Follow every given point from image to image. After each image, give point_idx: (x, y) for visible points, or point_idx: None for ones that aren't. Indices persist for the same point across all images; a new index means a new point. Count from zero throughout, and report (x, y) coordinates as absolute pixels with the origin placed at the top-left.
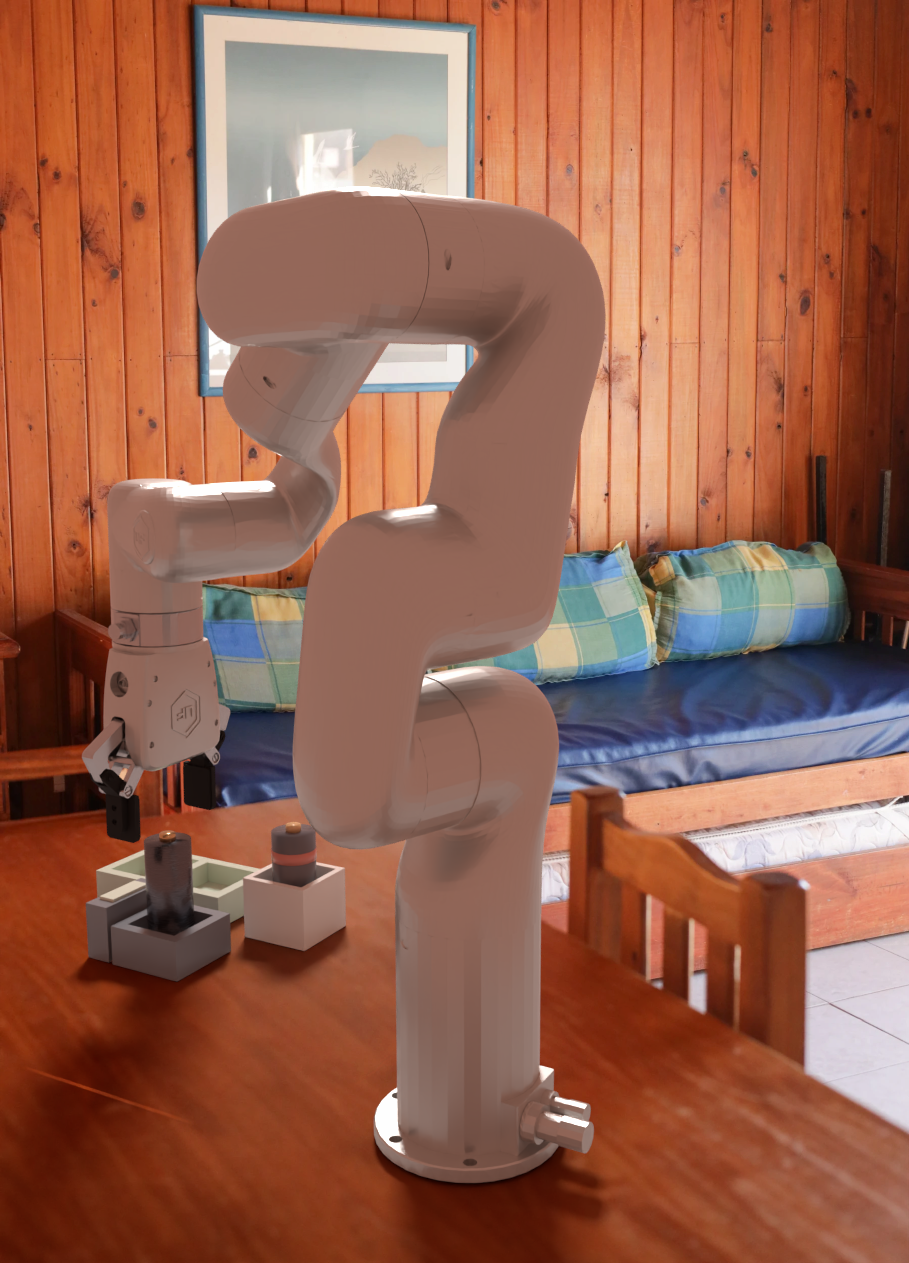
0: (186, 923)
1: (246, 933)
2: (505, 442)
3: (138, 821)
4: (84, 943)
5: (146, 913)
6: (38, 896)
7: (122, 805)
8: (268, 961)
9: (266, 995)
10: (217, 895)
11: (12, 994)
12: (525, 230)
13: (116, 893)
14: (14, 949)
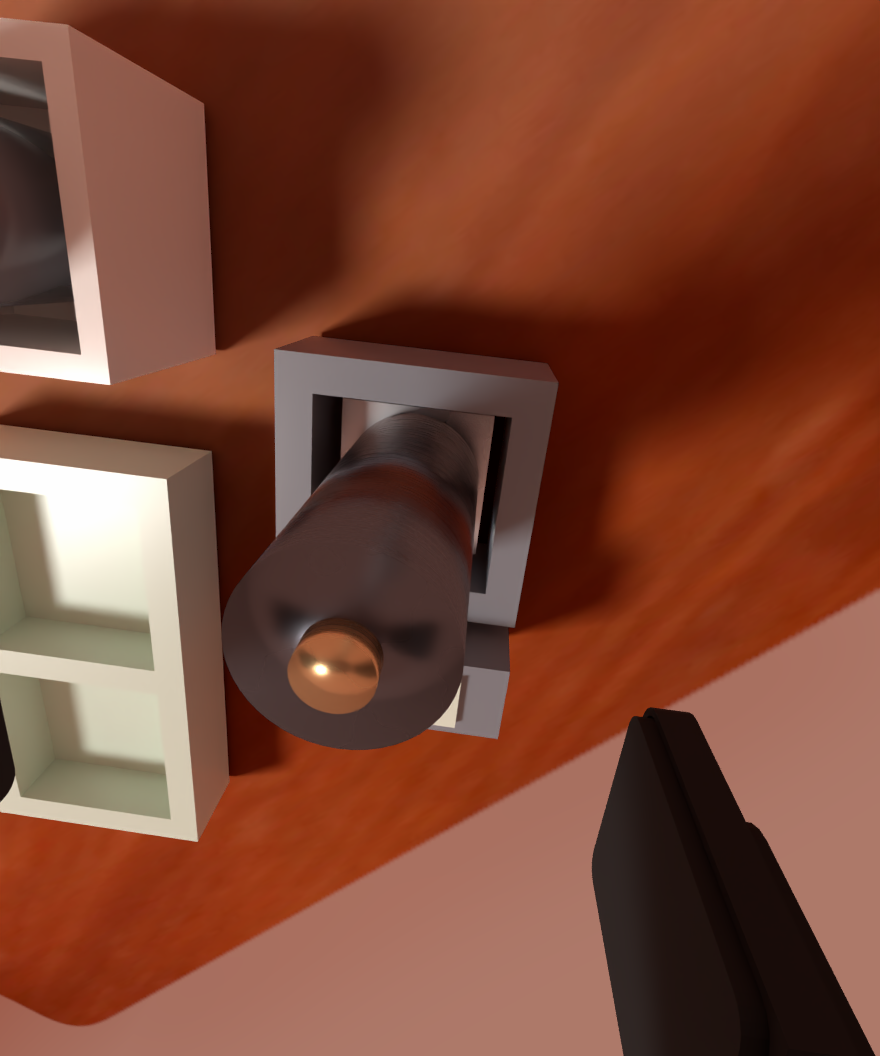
0: (419, 431)
1: (210, 348)
2: None
3: (707, 806)
4: None
5: None
6: (270, 878)
7: (849, 1031)
8: (308, 191)
9: (523, 39)
10: (151, 492)
11: (712, 680)
12: None
13: None
14: (508, 790)
